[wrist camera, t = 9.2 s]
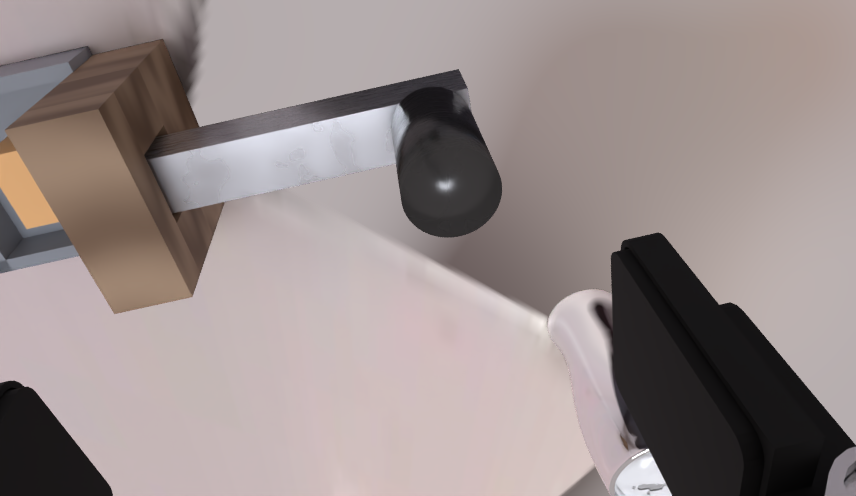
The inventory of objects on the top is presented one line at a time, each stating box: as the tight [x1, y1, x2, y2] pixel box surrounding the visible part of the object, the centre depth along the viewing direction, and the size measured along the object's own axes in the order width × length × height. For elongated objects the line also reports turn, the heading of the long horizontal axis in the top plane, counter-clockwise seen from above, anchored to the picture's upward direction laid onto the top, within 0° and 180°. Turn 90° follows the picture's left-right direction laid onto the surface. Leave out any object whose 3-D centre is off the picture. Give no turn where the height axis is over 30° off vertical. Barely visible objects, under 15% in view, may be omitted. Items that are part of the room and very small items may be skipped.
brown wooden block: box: [5, 39, 224, 314], centre depth 34 cm, size 10×4×11 cm, turn 11°
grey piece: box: [144, 69, 502, 237], centre depth 29 cm, size 4×19×10 cm, turn 101°
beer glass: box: [547, 289, 672, 496], centre depth 44 cm, size 7×7×15 cm
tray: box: [0, 46, 92, 273], centre depth 37 cm, size 11×10×3 cm
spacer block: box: [0, 136, 59, 229], centre depth 36 cm, size 4×4×4 cm
